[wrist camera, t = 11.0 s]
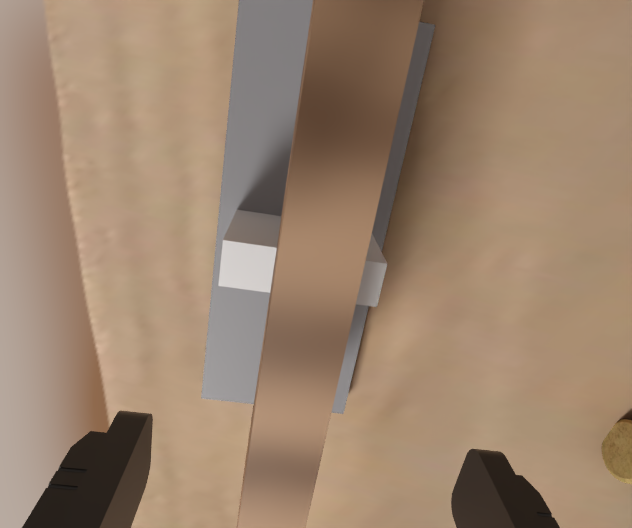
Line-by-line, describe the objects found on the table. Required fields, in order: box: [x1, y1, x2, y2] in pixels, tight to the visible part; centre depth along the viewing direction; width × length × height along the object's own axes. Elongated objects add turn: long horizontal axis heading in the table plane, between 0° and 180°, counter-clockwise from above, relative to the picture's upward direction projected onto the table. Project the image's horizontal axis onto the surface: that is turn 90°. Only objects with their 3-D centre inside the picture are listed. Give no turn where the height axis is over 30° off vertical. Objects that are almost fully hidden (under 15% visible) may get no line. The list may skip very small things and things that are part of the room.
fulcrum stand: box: [201, 0, 435, 414], centre depth 26 cm, size 25×10×7 cm, turn 170°
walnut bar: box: [237, 0, 424, 528], centre depth 20 cm, size 24×3×6 cm, turn 170°
